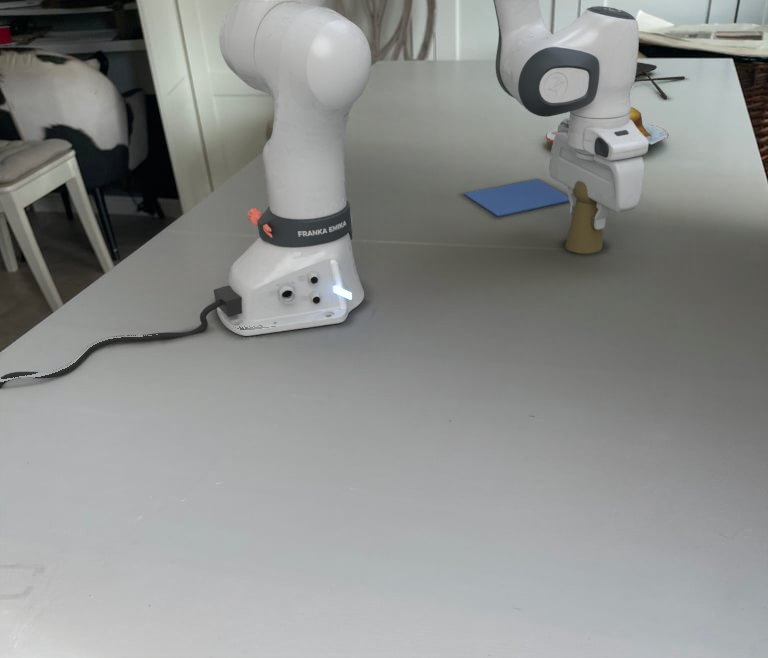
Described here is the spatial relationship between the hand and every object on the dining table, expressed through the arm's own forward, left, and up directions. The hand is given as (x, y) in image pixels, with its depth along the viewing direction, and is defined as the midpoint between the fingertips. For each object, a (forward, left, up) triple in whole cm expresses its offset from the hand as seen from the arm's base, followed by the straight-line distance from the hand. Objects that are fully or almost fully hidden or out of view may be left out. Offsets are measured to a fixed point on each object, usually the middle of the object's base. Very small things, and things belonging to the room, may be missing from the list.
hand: (586, 221), depth 131 cm
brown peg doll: (0, 0, -4) cm, 4 cm away
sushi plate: (+69, +82, -4) cm, 107 cm away
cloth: (+2, +25, -4) cm, 25 cm away
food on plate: (+34, +43, -4) cm, 55 cm away
